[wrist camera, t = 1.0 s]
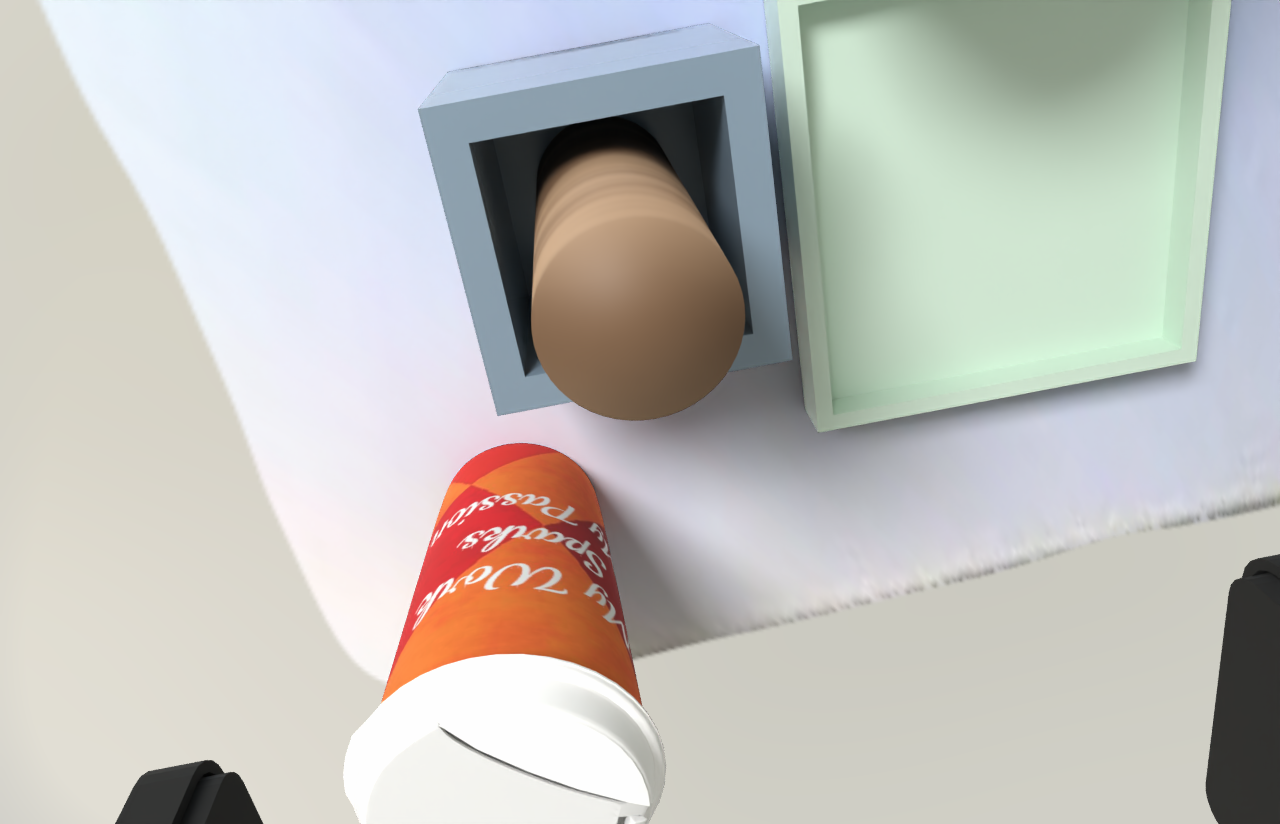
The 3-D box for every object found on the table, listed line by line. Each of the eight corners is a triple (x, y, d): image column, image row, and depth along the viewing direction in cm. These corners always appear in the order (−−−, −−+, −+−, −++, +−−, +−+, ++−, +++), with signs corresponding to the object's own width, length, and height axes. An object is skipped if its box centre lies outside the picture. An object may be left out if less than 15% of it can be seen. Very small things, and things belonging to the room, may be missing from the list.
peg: (523, 129, 30) (509, 241, 19) (660, 103, 31) (731, 199, 19) (551, 262, 32) (555, 437, 21) (680, 237, 32) (756, 399, 21)
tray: (762, -15, 30) (775, -13, 28) (1199, -97, 30) (1240, -100, 29) (805, 409, 37) (818, 432, 35) (1164, 341, 37) (1195, 361, 35)
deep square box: (448, 71, 30) (417, 109, 23) (709, 23, 31) (759, 45, 23) (507, 318, 34) (497, 416, 27) (740, 274, 34) (792, 360, 27)
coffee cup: (652, 441, 37) (714, 724, 23) (595, 612, 40) (621, 949, 27) (433, 392, 35) (363, 667, 22) (392, 575, 38) (309, 913, 25)
